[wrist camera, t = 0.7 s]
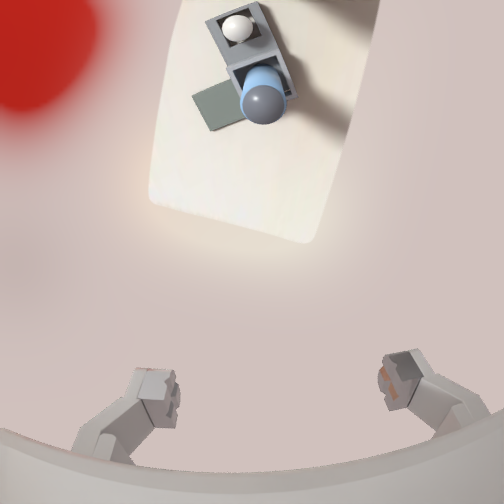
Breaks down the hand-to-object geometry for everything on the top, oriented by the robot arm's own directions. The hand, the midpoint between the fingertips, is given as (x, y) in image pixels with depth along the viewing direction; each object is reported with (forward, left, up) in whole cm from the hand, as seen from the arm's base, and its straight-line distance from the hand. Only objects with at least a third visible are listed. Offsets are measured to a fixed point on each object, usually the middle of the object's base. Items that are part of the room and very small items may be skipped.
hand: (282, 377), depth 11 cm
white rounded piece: (-10, 0, -42) cm, 43 cm away
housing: (-6, 0, -44) cm, 45 cm away
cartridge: (-1, 0, -42) cm, 42 cm away
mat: (+1, -8, -44) cm, 45 cm away
